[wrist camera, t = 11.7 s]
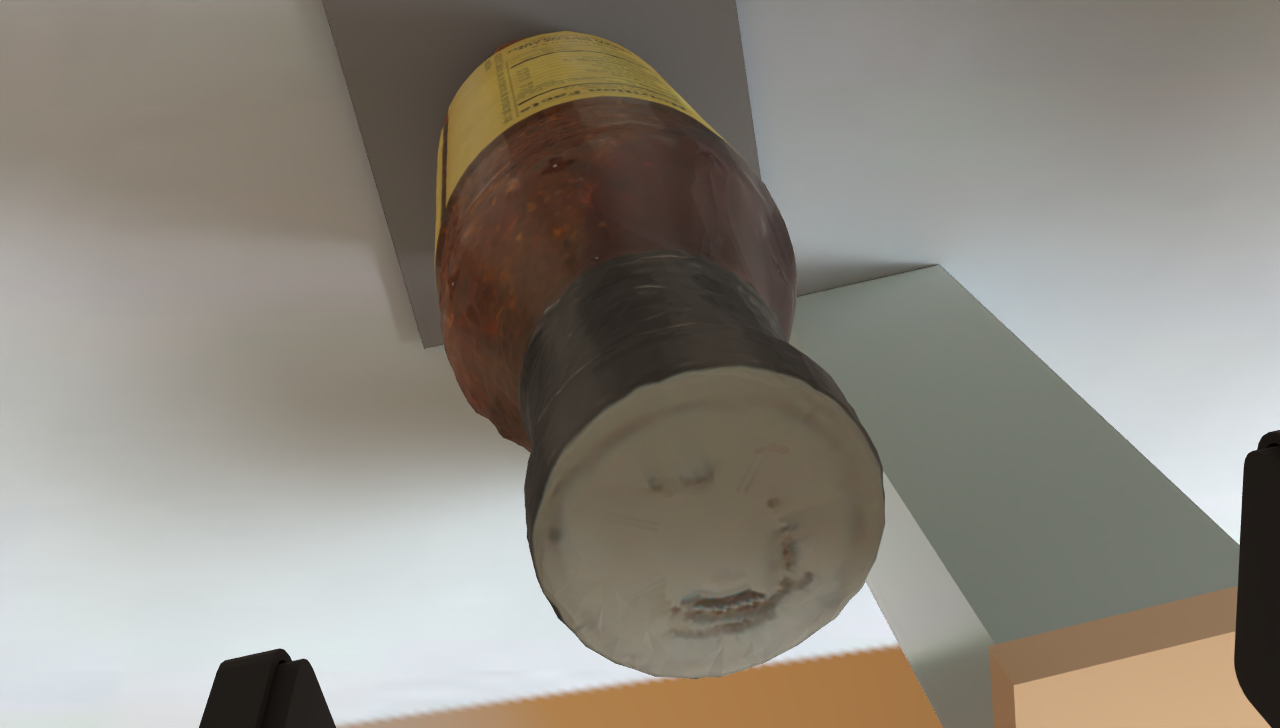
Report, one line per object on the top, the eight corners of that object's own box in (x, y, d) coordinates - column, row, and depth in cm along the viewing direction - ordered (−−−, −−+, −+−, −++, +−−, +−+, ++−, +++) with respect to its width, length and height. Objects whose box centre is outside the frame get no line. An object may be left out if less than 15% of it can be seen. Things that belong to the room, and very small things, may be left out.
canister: (945, 256, 35) (1332, 608, 19) (957, 416, 37) (1309, 841, 22) (766, 297, 34) (1013, 685, 19) (789, 455, 37) (1026, 913, 21)
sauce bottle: (620, 286, 33) (813, 848, 15) (404, 206, 31) (329, 736, 13) (721, 65, 31) (1087, 415, 13) (494, -35, 29) (551, 212, 11)
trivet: (715, -107, 29) (720, -105, 29) (768, 262, 34) (773, 270, 33) (318, -24, 29) (316, -21, 28) (424, 340, 33) (424, 348, 33)
